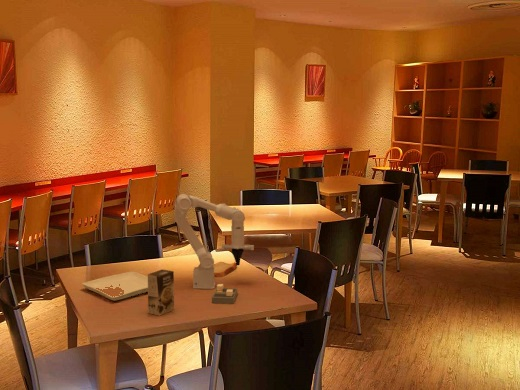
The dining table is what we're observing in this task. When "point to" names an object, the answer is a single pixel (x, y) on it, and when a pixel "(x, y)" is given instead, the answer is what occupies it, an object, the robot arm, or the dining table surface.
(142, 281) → the square plate
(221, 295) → the switch board
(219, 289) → the tab
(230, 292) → the front tab
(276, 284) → the dining table surface
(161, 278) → the coffee box
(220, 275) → the slice of bread
